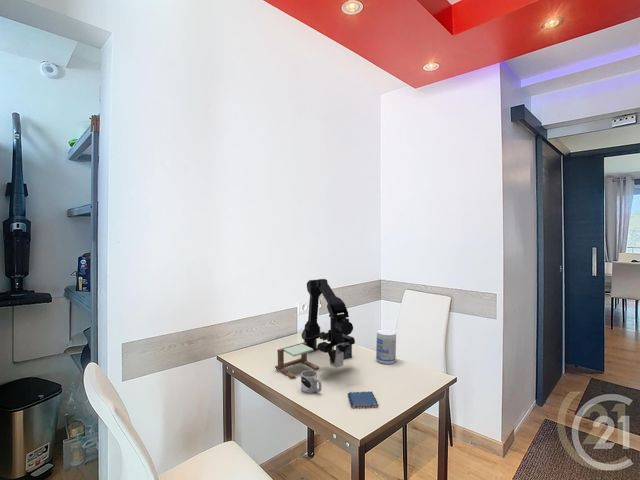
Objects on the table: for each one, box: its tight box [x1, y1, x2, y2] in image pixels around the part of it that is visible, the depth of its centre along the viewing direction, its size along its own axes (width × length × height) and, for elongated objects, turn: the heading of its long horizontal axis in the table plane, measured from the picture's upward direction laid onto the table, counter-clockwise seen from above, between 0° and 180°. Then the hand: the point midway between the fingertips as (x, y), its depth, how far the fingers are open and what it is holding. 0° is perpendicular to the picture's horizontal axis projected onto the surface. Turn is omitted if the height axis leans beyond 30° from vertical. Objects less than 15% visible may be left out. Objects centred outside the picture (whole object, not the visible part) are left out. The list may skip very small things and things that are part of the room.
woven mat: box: [347, 390, 380, 410], centre depth 127 cm, size 10×11×2 cm
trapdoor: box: [283, 343, 314, 357], centre depth 155 cm, size 9×11×1 cm
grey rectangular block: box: [329, 348, 344, 368], centre depth 152 cm, size 4×4×6 cm
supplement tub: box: [375, 328, 397, 365], centre depth 165 cm, size 10×10×15 cm
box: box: [335, 334, 353, 360], centre depth 172 cm, size 8×6×11 cm
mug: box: [300, 369, 322, 394], centre depth 136 cm, size 10×7×7 cm, turn 47°
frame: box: [274, 341, 320, 380], centre depth 156 cm, size 14×16×10 cm
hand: (336, 361), depth 152 cm, fingers closed on grey rectangular block, 4 cm apart
